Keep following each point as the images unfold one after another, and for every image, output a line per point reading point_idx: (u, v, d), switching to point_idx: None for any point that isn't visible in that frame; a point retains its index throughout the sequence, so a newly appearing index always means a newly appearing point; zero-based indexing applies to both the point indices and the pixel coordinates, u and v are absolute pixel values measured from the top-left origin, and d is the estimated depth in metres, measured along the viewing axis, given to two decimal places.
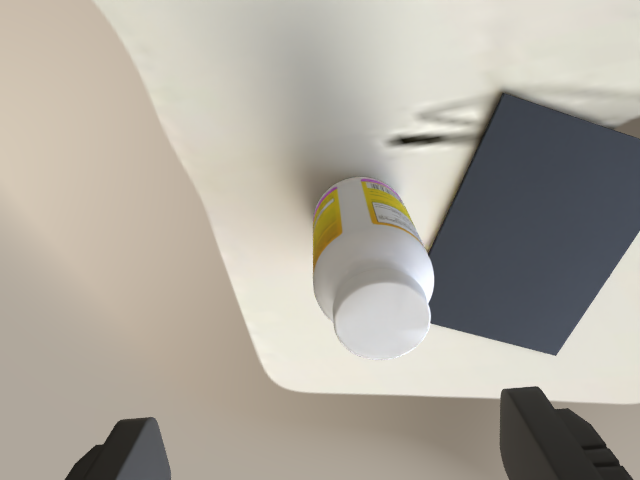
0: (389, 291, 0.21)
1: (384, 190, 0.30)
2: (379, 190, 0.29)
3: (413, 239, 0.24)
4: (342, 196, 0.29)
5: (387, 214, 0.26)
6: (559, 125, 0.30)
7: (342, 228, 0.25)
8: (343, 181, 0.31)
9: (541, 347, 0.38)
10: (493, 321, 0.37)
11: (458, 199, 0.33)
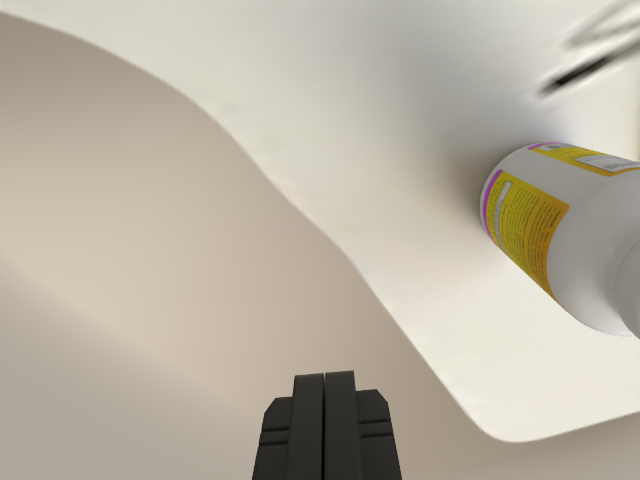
0: None
1: (568, 146, 0.23)
2: (564, 147, 0.22)
3: None
4: (521, 173, 0.22)
5: (612, 162, 0.18)
6: None
7: (564, 200, 0.18)
8: (504, 160, 0.25)
9: None
10: None
11: None
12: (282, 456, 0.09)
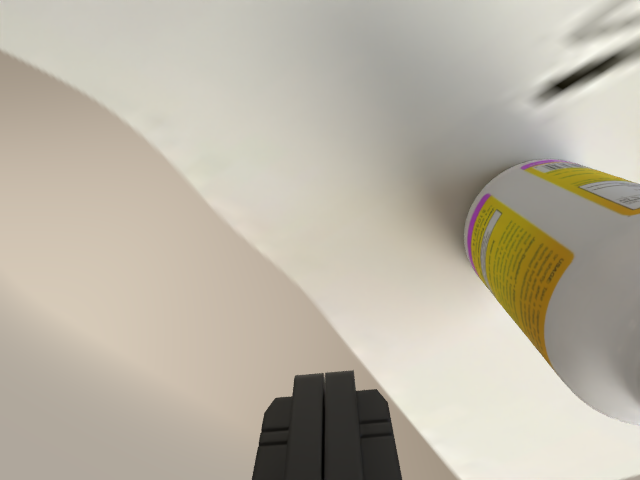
0: None
1: (571, 166, 0.18)
2: (565, 168, 0.18)
3: None
4: (512, 201, 0.18)
5: (629, 192, 0.14)
6: None
7: (566, 246, 0.13)
8: (493, 182, 0.20)
9: None
10: None
11: None
12: (282, 457, 0.09)
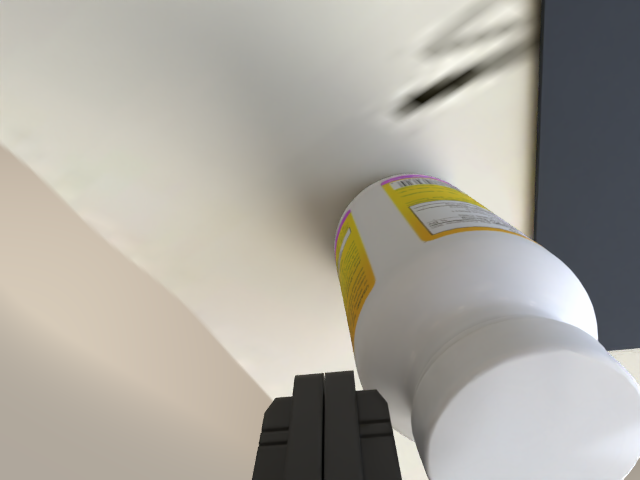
0: (524, 376, 0.09)
1: (422, 182, 0.18)
2: (414, 185, 0.18)
3: (514, 238, 0.12)
4: (360, 219, 0.17)
5: (443, 215, 0.14)
6: None
7: (374, 271, 0.13)
8: (356, 197, 0.20)
9: None
10: None
11: (545, 150, 0.20)
12: (283, 457, 0.09)
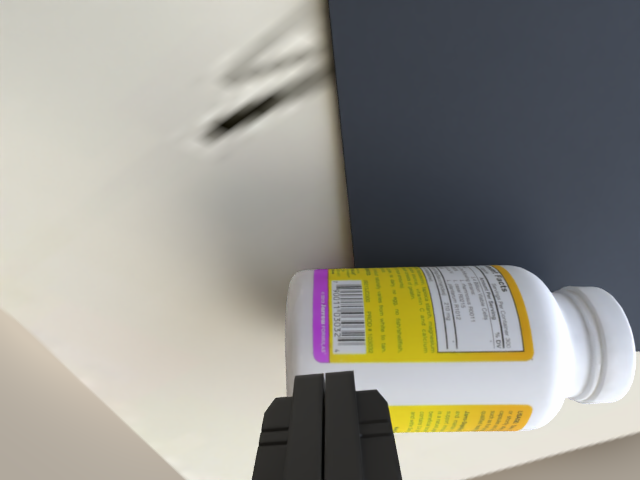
0: None
1: (357, 319, 0.16)
2: (366, 330, 0.16)
3: (535, 298, 0.17)
4: (385, 399, 0.16)
5: (483, 331, 0.16)
6: None
7: (514, 403, 0.16)
8: None
9: None
10: None
11: (351, 175, 0.20)
12: (282, 457, 0.09)
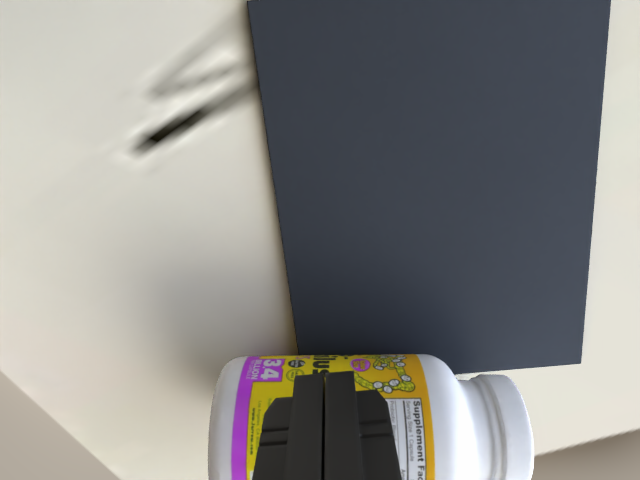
0: None
1: None
2: None
3: None
4: None
5: None
6: (361, 8, 0.18)
7: None
8: None
9: (548, 359, 0.23)
10: (447, 346, 0.23)
11: (280, 188, 0.20)
12: (282, 457, 0.09)
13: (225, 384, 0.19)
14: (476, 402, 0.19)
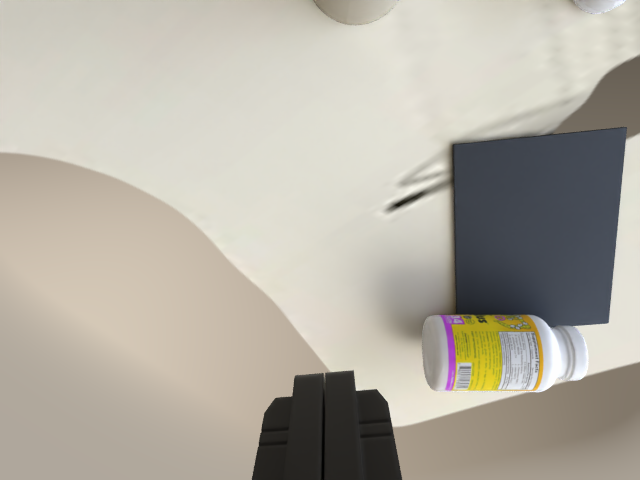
0: None
1: (466, 382, 0.38)
2: (469, 385, 0.38)
3: (548, 375, 0.38)
4: None
5: (519, 386, 0.38)
6: (507, 148, 0.39)
7: None
8: (439, 391, 0.40)
9: (591, 320, 0.43)
10: (536, 313, 0.43)
11: (458, 230, 0.41)
12: (282, 457, 0.09)
13: (437, 325, 0.39)
14: (558, 336, 0.39)
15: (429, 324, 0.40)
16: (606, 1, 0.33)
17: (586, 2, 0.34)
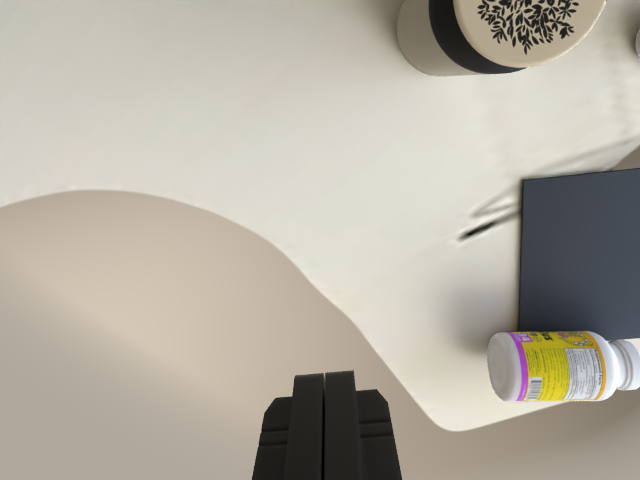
0: None
1: (536, 394, 0.43)
2: (538, 396, 0.43)
3: (609, 387, 0.42)
4: None
5: (583, 396, 0.43)
6: (572, 184, 0.43)
7: None
8: None
9: None
10: (591, 328, 0.48)
11: (524, 256, 0.45)
12: (282, 457, 0.09)
13: (508, 343, 0.44)
14: (616, 351, 0.44)
15: (499, 341, 0.45)
16: None
17: None
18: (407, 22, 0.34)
